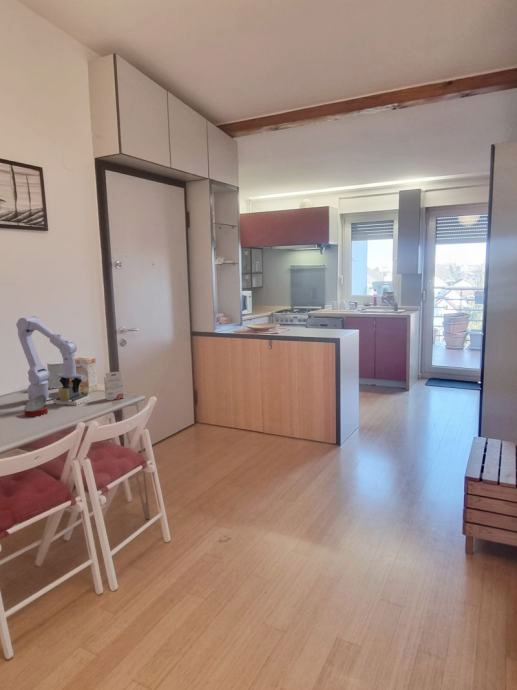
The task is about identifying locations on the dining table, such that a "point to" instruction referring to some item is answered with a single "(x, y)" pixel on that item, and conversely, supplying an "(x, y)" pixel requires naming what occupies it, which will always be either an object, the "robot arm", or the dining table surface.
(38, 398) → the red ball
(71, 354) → the robot arm
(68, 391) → the housing
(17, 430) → the dining table surface
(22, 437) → the dining table surface
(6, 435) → the dining table surface
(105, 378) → the ink cartridge box
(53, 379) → the skincare box
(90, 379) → the coffeecake box
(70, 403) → the stand
